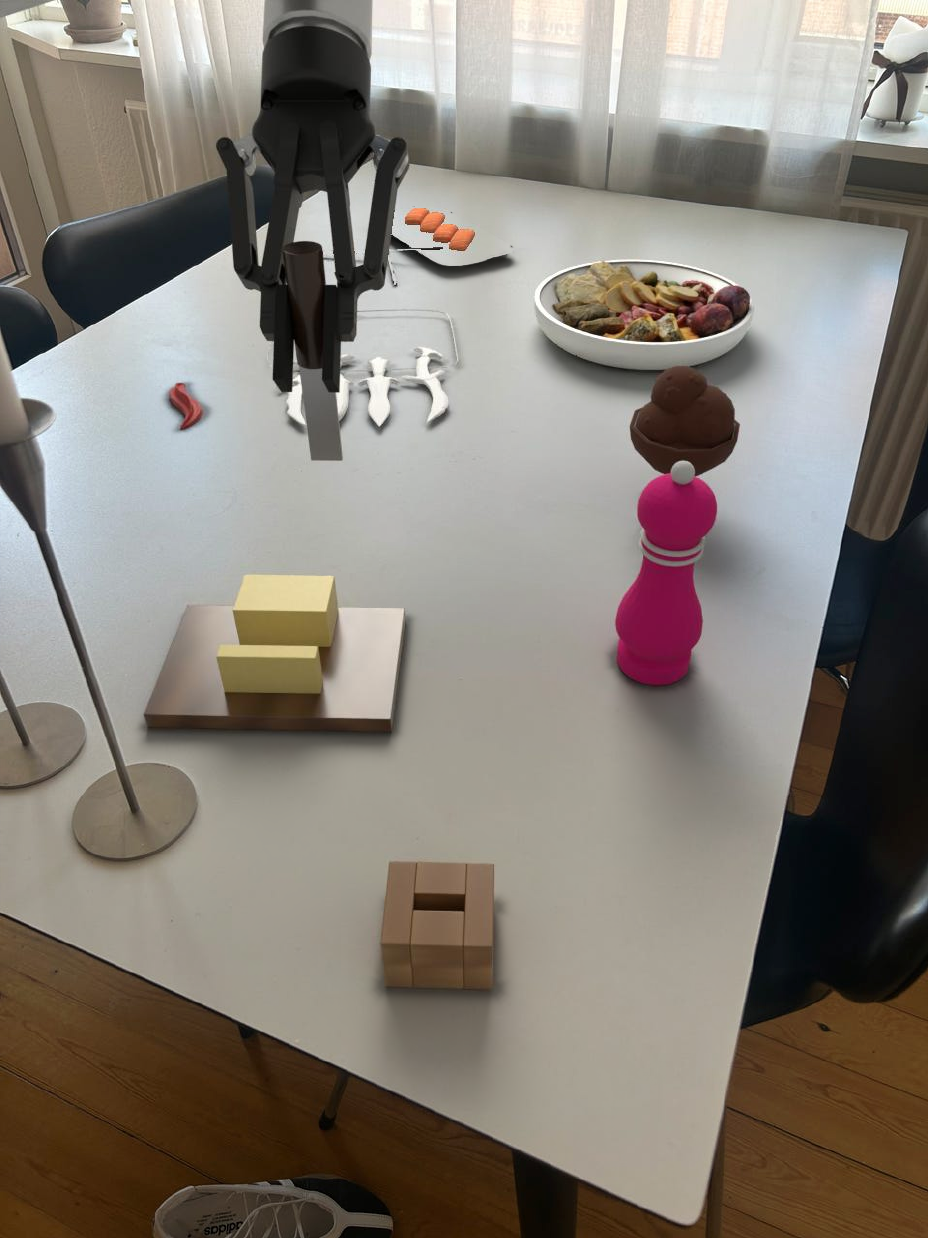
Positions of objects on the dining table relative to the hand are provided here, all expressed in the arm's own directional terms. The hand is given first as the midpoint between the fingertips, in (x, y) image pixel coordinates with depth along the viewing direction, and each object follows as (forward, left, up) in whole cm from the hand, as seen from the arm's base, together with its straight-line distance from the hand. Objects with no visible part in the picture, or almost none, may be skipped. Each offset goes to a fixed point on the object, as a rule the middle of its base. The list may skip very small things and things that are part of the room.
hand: (306, 385), depth 65 cm
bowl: (+33, +72, -28) cm, 84 cm away
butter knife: (0, +4, -8) cm, 9 cm away
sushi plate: (-4, +104, -28) cm, 108 cm away
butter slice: (-5, -3, -26) cm, 27 cm away
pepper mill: (+27, +3, -28) cm, 38 cm away
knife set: (-5, +60, -27) cm, 66 cm away
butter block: (-5, +5, -26) cm, 27 cm away
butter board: (-5, +1, -27) cm, 28 cm away
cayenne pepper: (-26, +49, -28) cm, 62 cm away
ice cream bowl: (+32, +28, -28) cm, 50 cm away
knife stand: (+10, -25, -27) cm, 39 cm away
